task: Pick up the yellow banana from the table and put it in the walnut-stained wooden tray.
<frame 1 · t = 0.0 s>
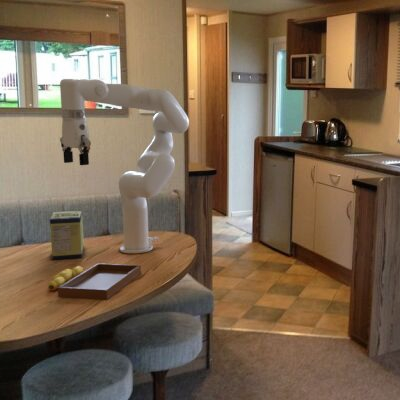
hand: (76, 163, 199), 37 cm above the table, tool pointing down, fingers open, 9 cm apart
tray: (102, 284, 183), on the table
protein box: (68, 254, 217), on the table
banana: (62, 282, 185), on the table, tilted 8°
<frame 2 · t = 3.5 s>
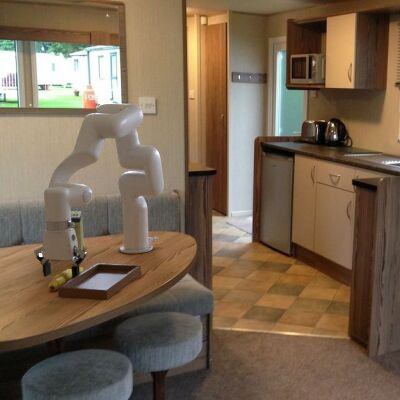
hand: (61, 276, 184), 2 cm above the table, tool pointing down, fingers open, 9 cm apart
banana: (62, 282, 185), on the table, tilted 17°
everything else where it was.
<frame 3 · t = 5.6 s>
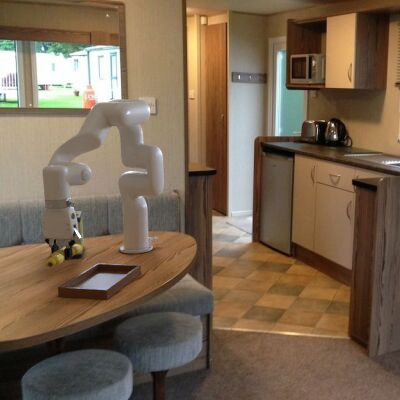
hand: (62, 258, 183), 8 cm above the table, tool pointing down, fingers closed on banana, 3 cm apart
banana: (61, 259, 184), point 8 cm above the table, tilted 13°, touching gripper
everything else where it was.
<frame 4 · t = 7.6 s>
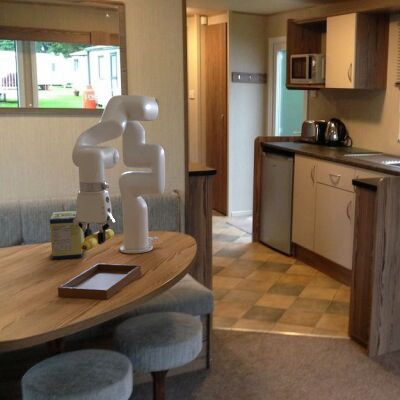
hand: (95, 242, 181), 14 cm above the table, tool pointing down, fingers closed on banana, 3 cm apart
banana: (94, 244, 181), point 14 cm above the table, tilted 13°, touching gripper
everything else where it was.
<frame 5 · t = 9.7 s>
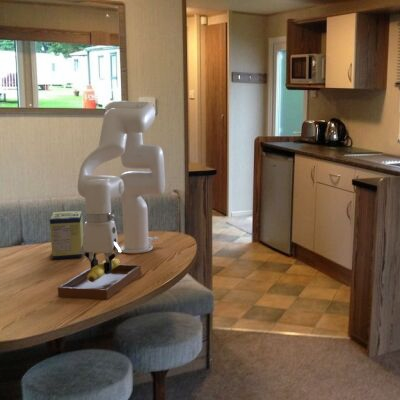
hand: (101, 272, 183), 4 cm above the table, tool pointing down, fingers closed on banana, 3 cm apart
banana: (100, 273, 183), point 4 cm above the table, tilted 13°, touching gripper
everything else where it was.
when the fingers open (1 cm above the table, at t = 10.9 s): banana stays where it is, resting on tray.
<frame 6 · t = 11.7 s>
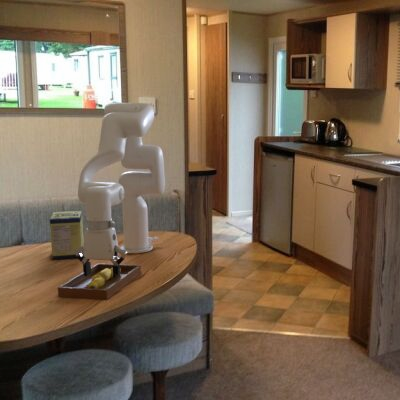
hand: (101, 275, 183), 3 cm above the table, tool pointing down, fingers open, 9 cm apart
banana: (100, 281, 183), point 1 cm above the table, tilted 17°, touching tray
everything else where it was.
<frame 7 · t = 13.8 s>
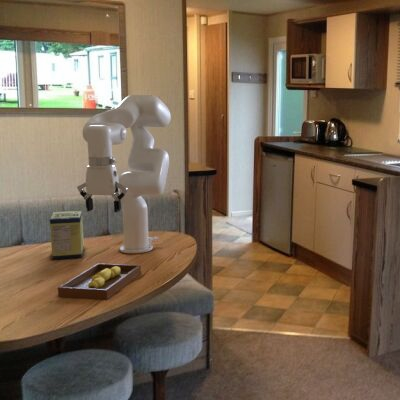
hand: (103, 210, 193), 22 cm above the table, tool pointing down, fingers open, 9 cm apart
nothing on the table moved.
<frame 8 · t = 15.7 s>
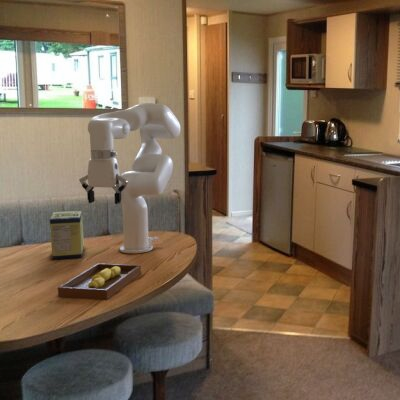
hand: (104, 202, 199), 23 cm above the table, tool pointing down, fingers open, 9 cm apart
nothing on the table moved.
at the end: banana inside the target area in the tray (0.4 cm from its centre), point 0.9 cm above the tray's base; the gripper is holding nothing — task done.
